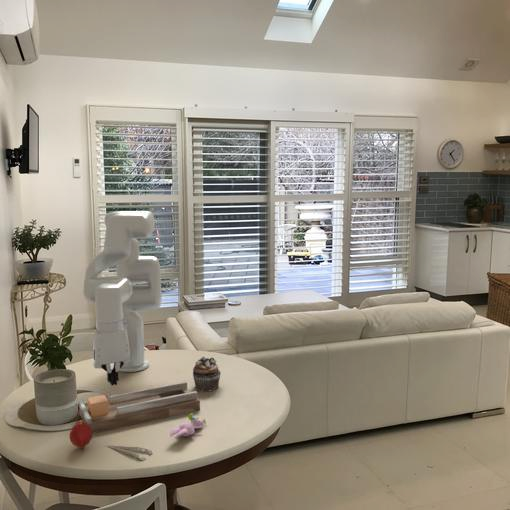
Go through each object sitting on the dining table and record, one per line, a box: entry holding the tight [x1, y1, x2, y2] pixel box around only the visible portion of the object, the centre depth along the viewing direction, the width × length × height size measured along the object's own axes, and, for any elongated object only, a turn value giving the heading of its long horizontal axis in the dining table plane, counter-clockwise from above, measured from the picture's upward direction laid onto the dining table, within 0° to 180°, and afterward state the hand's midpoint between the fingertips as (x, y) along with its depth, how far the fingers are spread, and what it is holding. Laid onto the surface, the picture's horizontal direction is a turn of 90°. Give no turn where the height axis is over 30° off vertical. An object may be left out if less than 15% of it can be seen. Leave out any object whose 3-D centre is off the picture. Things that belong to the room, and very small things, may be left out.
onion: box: [69, 419, 93, 449], centre depth 145 cm, size 6×6×8 cm
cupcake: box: [192, 356, 221, 392], centre depth 186 cm, size 10×10×10 cm
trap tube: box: [78, 381, 201, 434], centre depth 167 cm, size 14×34×5 cm, turn 118°
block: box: [87, 394, 109, 417], centre depth 160 cm, size 5×5×4 cm
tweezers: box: [106, 444, 154, 461], centre depth 145 cm, size 18×5×2 cm, turn 65°
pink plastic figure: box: [169, 412, 207, 439], centre depth 153 cm, size 6×6×15 cm
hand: (113, 383), depth 163 cm, fingers closed
